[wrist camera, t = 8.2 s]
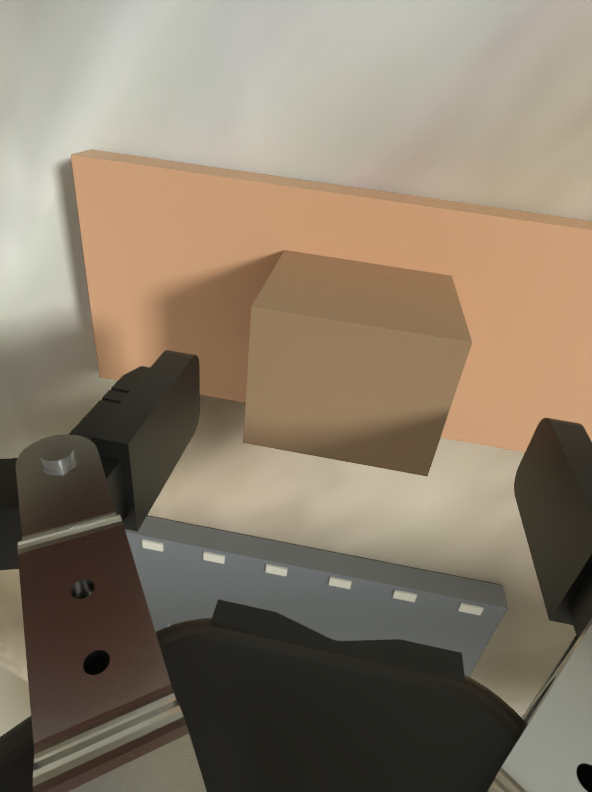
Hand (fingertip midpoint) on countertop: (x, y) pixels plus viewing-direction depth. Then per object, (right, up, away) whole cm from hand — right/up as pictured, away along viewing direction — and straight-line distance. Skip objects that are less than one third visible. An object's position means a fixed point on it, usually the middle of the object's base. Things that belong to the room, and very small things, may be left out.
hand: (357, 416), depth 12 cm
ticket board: (-1, -12, +16) cm, 20 cm away
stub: (+1, +3, +5) cm, 6 cm away
